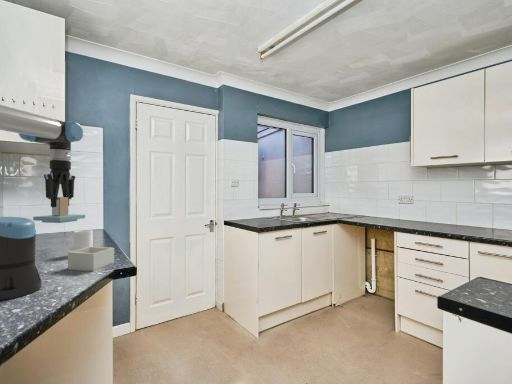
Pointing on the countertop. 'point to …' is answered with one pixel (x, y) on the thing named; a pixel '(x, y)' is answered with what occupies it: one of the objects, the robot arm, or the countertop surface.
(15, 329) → the countertop surface
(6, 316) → the countertop surface
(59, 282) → the countertop surface
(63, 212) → the lid
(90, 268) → the tub
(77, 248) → the mug
